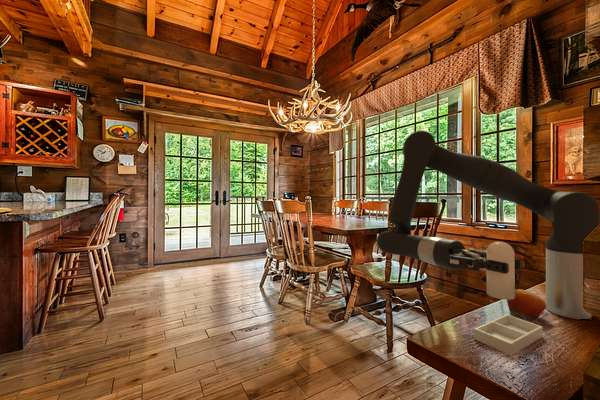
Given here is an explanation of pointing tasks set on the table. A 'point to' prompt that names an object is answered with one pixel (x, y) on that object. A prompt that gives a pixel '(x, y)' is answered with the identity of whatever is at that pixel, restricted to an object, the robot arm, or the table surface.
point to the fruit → (526, 304)
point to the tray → (508, 334)
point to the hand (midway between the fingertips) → (514, 266)
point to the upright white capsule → (500, 282)
